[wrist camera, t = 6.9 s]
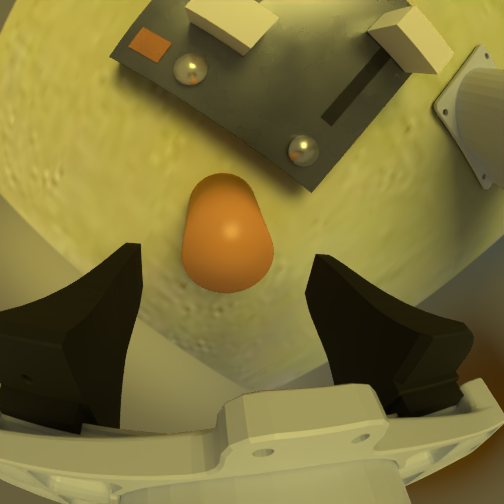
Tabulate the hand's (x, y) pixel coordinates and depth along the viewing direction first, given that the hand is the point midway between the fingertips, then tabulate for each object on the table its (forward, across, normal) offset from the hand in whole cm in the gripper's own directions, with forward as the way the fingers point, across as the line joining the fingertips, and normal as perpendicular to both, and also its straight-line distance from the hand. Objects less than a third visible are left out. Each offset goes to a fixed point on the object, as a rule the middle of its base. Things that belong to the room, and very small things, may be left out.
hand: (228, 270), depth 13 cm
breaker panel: (+7, -2, -11) cm, 13 cm away
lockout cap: (+7, 0, 0) cm, 7 cm away
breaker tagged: (+5, +1, -10) cm, 11 cm away
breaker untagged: (+5, -8, -12) cm, 15 cm away
